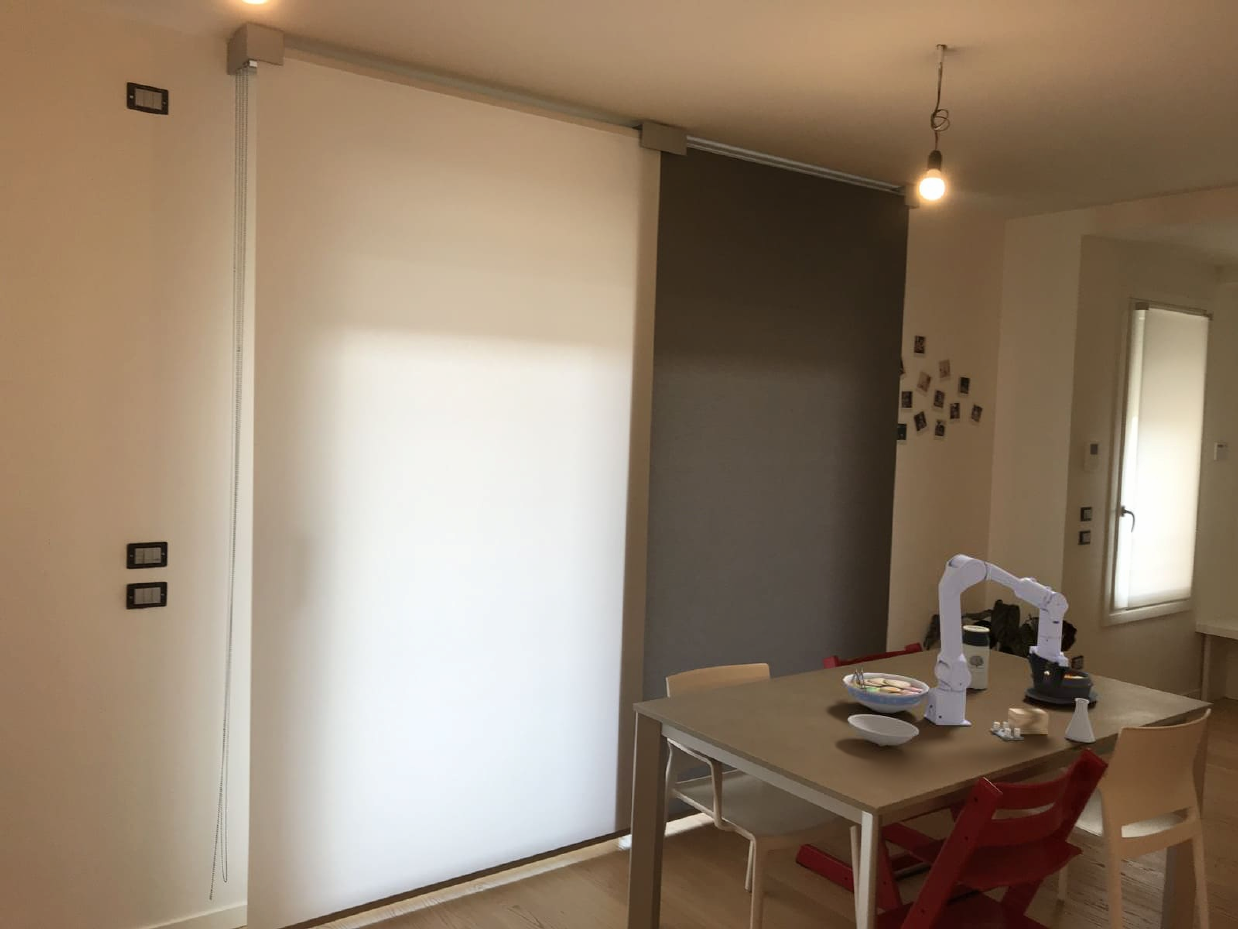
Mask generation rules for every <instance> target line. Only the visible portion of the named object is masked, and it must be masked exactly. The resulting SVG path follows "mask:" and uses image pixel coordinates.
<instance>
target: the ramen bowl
mask: <svg viewBox="0 0 1238 929" xmlns="http://www.w3.org/2000/svg"><path fill="white" fill-rule="evenodd" d="M853 671H854V673H853V674H848V675H845V677H844V678H843V679H842V681H843V684H844V686H845V688H846V689H847V691H848V693H849V694H850V695H851V696H852V697H853V698H854V700H855V701H857V702H858V703H859V704H861V705H863V706H865V707H867V708H870V709H871V710H872V711H874V712H877V713H882V714H896V713H899V712H901V711H907V710H909V709H912V708H914V707H916V706H917V705H919V704H920V703H921V702H922V700H923V699H924V698H925V697H926V696H927V692H928V690H929V689H930V686H928V685H927V684H926V683H925V682H923V681H920V680H917V679H915V678H913V677H911V678H910V677H906V676H902V675H897V674H889V673H883V672H882V673H881V672H880V673H879V672H864V670H863V667H859V672H860V673H859V672H858V670H857V667H856V666H854V667H853Z"/></svg>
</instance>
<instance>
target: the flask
mask: <svg viewBox="0 0 1238 929" xmlns="http://www.w3.org/2000/svg"><path fill="white" fill-rule="evenodd" d="M1075 701H1076V705H1075V710H1074V714H1073V716H1072V718H1071V720H1070V722H1069V725H1068V727H1067V728H1066V730H1065V732H1064V737H1065V738H1066V739H1069V740H1072V741H1075V742H1081V743H1088V744H1089V743H1094V742H1096V739H1095V736H1094V732H1093V729H1092V725H1091V721H1090V718H1089V712H1088V704H1090V703H1089V701H1088V700H1085V699H1080V698H1077V699H1075Z"/></svg>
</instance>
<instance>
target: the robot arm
mask: <svg viewBox="0 0 1238 929" xmlns="http://www.w3.org/2000/svg"><path fill="white" fill-rule="evenodd" d="M984 580H985V581H988V580H993V581H995V582H998V583H1000V584H1002V585H1003V586H1006V587H1007V588H1010V589H1012V590H1013V591H1014V595H1015V596H1016V597H1017V598H1019V599H1021V600H1024V601H1025V602H1027V603H1029V604H1031V605H1033V606H1035V607H1037V609H1039V614H1038V631H1037V632H1038V633H1037V645H1035V646H1032V645H1031V646H1029V654H1031V655H1026V659H1027V660H1028V662H1029V666H1030V668H1031V674H1033V678H1032V680H1033V679H1034V682H1035V683H1043V680H1044V673H1045V668H1046V666H1047V668H1048V671H1049V676H1050V689H1051V690H1052V691H1059V690H1060V687H1061V684H1062V681H1063V679H1064V677H1065V675H1066V673H1067V672H1068V671H1069V670H1070V668H1071V666H1070V665H1069V658H1067V657H1066V656H1065V653H1064V652H1061V650H1062V634H1063V620H1064V615H1065V613H1066V612H1067V611H1068V608H1069V607H1070V606H1069V603H1068V602H1067V599H1066V597H1065V596H1064V595H1063V594H1062V593H1059V592H1055V591H1053V590H1052V587H1050V586H1047V585H1046V586H1044V585H1042V584H1041V583H1038V582H1037V579H1036V578H1034V577H1031V576H1030V577H1029V578H1028V577H1022V578H1019V577H1017V576H1014V575H1013V574H1011V573H1009V572H1008V571H1006V570H1004V569H1002V568H1000V567H998V566H997V565H995V564H992V563H989V562H986V561H983V560H980V559H977V558H974V557H973V558H972V557H970V556H967V555H965V554H957V555H955V556H953V557H952V558H950V560H948V561H947V562H946V563H945V571H944V572H943V575H942V577H941V579H940V581H939V583H938V602H939V603H938V605H939V606H938V607H939V626H940V630H939V632H940V649H941V650H940V652H939V653H938V655H937V662H936V664H935V667H934V675H935V677H936V679H937V680H938V682H937V686H936V687H931V688H930V687H929V689H928V691H927V693H926V702H925V703H926V704H925V714H924V715H923V716H924V717H925V718H926V719H927V720H929V721H931V722H932V723H933V724H935V725H937V726H972V723H971V722H969V721H968V720H967V719H965V718H966V717H965V716H966V702H967V701H966V698H967V689H968V688H967V687H968V686H969V685H970V683H971V674H970V672H969V671H968V668H967V662H966V659H965V657H964V655H963V650H962V636H963V627H962V611H961V610H962V609H961V594H962V593H964V591H965V590H967V588H969V587H973V586H974V585H975V584H978V583H980V582H981V581H984ZM1049 661H1050V662H1053V663H1049Z"/></svg>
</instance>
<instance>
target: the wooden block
mask: <svg viewBox="0 0 1238 929" xmlns="http://www.w3.org/2000/svg"><path fill="white" fill-rule="evenodd" d="M1007 715H1008V717H1007V722H1008V723H1009V729H1011V731H1013V732H1014V729H1015V728H1018V729H1020V734H1047V735H1048V734H1049V720H1050V719H1049V717H1050V714H1049V713H1048V712H1046V711H1044V710H1043V709H1041V708H1008V714H1007ZM1047 735H1046V736H1047Z"/></svg>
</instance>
